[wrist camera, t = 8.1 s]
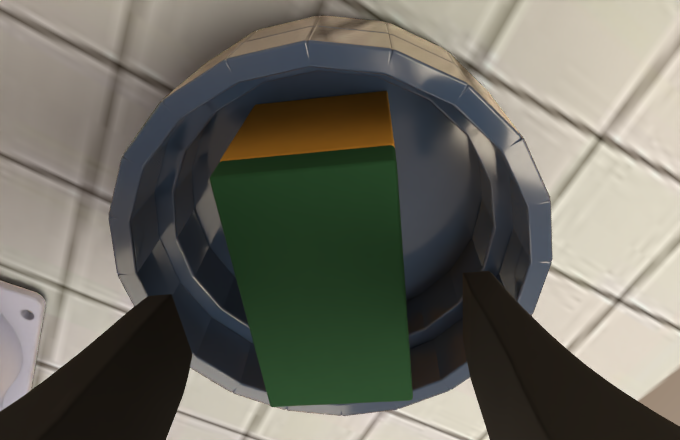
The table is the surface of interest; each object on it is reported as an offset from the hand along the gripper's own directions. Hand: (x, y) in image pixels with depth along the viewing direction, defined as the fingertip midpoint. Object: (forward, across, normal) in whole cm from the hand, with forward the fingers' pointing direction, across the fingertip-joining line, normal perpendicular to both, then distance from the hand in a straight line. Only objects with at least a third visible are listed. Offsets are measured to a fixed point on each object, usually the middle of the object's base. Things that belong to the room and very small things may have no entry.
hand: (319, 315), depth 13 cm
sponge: (+6, 0, 0) cm, 6 cm away
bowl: (+6, 0, 0) cm, 7 cm away
